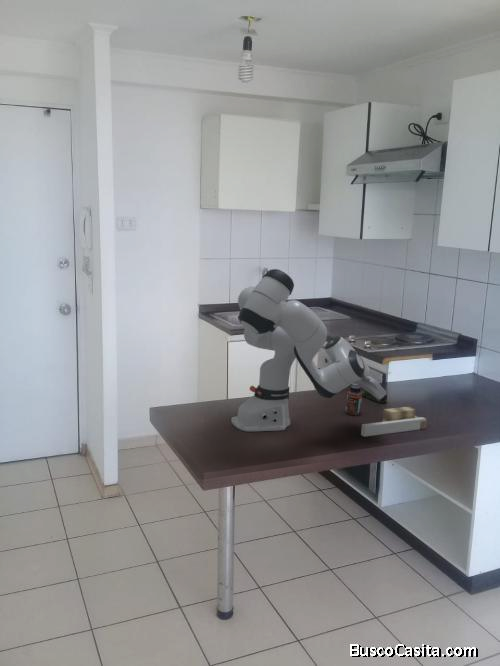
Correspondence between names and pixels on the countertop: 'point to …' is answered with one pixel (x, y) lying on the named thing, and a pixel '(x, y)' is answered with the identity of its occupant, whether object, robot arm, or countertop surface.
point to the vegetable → (370, 396)
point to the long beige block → (398, 414)
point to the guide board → (393, 426)
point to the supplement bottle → (354, 401)
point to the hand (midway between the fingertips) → (377, 396)
